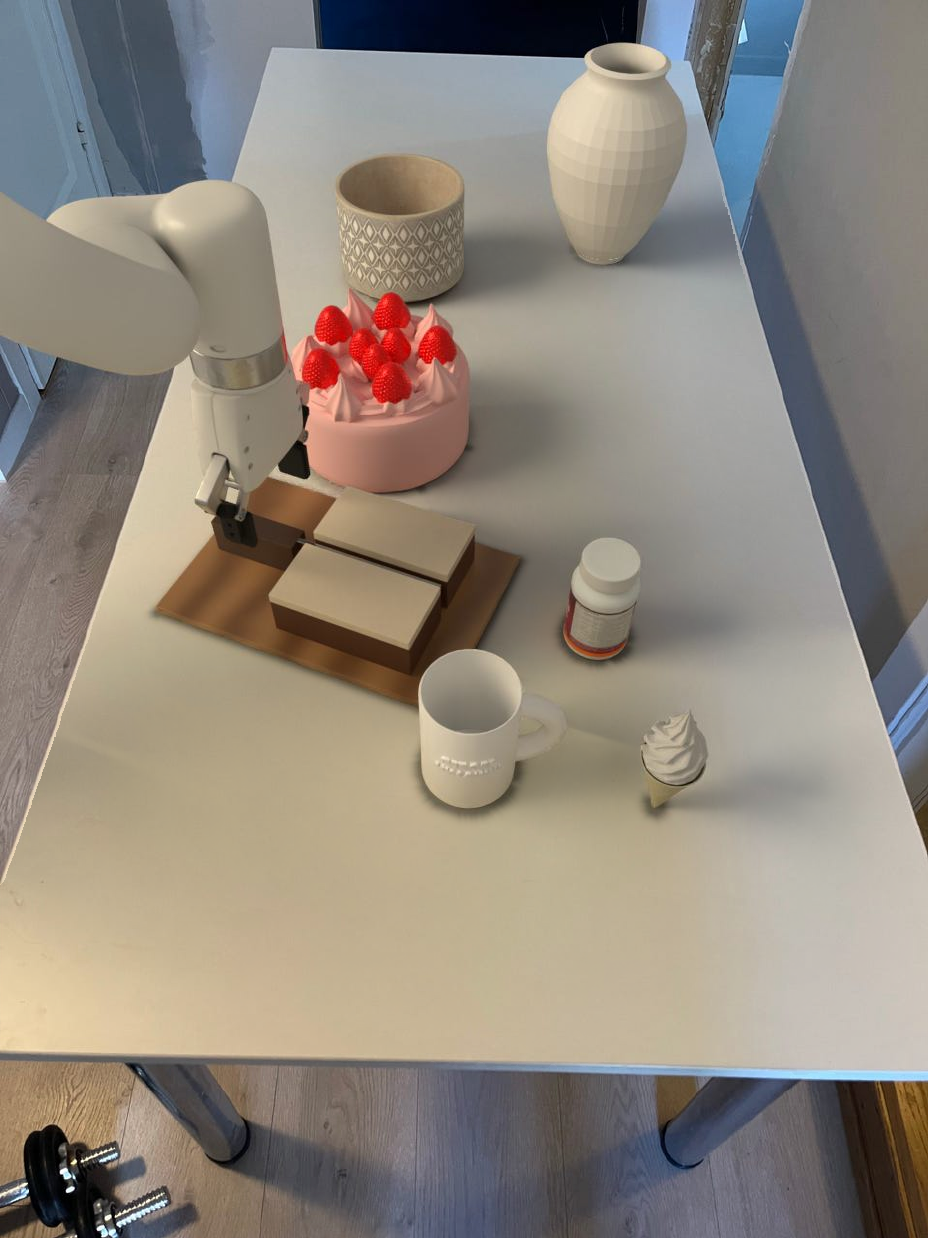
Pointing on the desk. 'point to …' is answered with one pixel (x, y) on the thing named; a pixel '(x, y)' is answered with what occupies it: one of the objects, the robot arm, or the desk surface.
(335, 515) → the cake
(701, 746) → the ice cream cone
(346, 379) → the cake
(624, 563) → the pill bottle
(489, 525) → the desk surface
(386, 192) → the planter
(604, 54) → the vase
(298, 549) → the knife
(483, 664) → the mug
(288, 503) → the cake board
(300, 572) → the cake
